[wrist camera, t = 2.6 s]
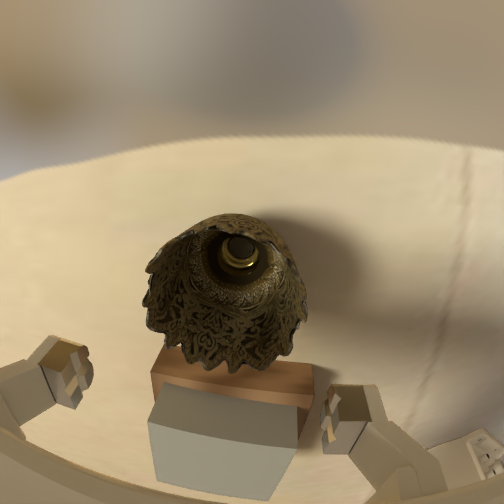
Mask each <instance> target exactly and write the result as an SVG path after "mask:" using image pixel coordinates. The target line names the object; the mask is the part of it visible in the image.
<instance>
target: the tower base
mask: <svg viewBox="0 0 504 504" xmlns="http://www.w3.org/2000/svg"><path fill="white" fill-rule="evenodd" d="M175 347H176V348H172V349H168V350H167V349H165V344H164V345H163V347H162V349H161V351H160V353H159V355H158V357H157V359H156V361H155V363H154V365H153V367H152V369H151V371H150V373H151V380H152V387H153V393H154V399H155V402H156V399H157V397H158V395H159V392H160V390H161V388H162V385H163V383H164V382H165V383H169V384H173V385H177V386H181V387H186V388H190V389H195V390H199V391H204V392H209V393H214V394H219V395H224V396H230V397H235V398H241V399H247V400H253V401H260V402H267V403H274V404H282V405H290V406H297V433H298V440H299V437H300V434H301V432H302V429H303V426H304V424H305V421H306V418H307V415H308V412H309V410H310V407H311V404H312V401H313V398H314V383H313V372H312V364H309V363H297V362H287V361H277V360H275V361H274V362H273V363H272V364H271V365H270V366H269V367H268V368H267V369H265V370H264V371H257V370H254V369H252V368H251V367H250V366H249V365H242V366H241V368H239V370H238V371H237V372H236V373H234V374H229V373H228V372H227V370H228V367H227V363H226V361H223V362H222V363H221V364H220V365H219V366H218V367H216V368H215V369H213V370H211V371H206V370H204V368H203V367H202V365H201V364H200V362H195V363H194V364H188V363H187V361H186V359H185V356H184V353H182V351H181V347H179V346H175ZM199 361H200V360H199ZM224 363H225V364H224Z"/></svg>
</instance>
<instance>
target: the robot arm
mask: <svg viewBox="0 0 504 504" xmlns="http://www.w3.org/2000/svg"><path fill="white" fill-rule="evenodd" d="M88 356H89V351H88V348H87V347H86V346H85V345H82V344H79V343H76V342H72V341H69V340H66V339H63V338H60V337H57V336H54V335H50V336H48V337H47V338H46V339H45V340H44V341H43V343H42V344H41V345H40V346H39V347H38V348H37V349H36V350H35V351H34V352H33V354H32V355H31V356H30V357H29V358H28V359H27V360H24V359H23V360H20V361H18V362H15V363H12V364H10V365H7V366H5V367H2V368H0V504H226V503H219V502H212V501H206V500H200V499H195V498H189V497H184V496H180V495H175V494H170V493H166V492H162V491H158V490H154V489H150V488H146V487H143V486H139V485H136V484H132V483H129V482H126V481H122V480H119V479H116V478H113V477H110V476H107V475H104V474H102V473H99V472H96V471H93V470H91V469H88V468H86V467H83V466H80V465H78V464H76V463H73V462H71V461H68V460H66V459H64V458H62V457H59V456H57V455H55V454H53V453H51V452H48V451H46V450H44V449H42V448H40V447H38V446H36V445H34V444H32V443H30V442H28V441H26V436H25V434H24V433H23V431H22V430H21V428H20V426H21V425H23V424H24V423H26V422H27V421H29V420H31V419H32V418H34V417H36V416H37V415H39V414H41V413H42V412H44V411H46V410H47V409H49V408H50V407H52V406H54V405H55V404H56V403H58V404H60V405H63V406H66V407H69V408H72V409H76V407H77V406H78V404H79V403H80V401H81V399H82V398H83V394H82V391H84V390H86V389H88V388H89V386H90V385H91V383H92V379H93V375H94V374H93V366H92V363H91V362H90V361H89V360H88V359H87V357H88ZM327 393H328V399H327V400H325V401H324V403H323V406H322V409H321V415H320V423H321V428H322V429H323V430H324V431H325V432H324V435H323V437H322V445H323V454H344V455H346V454H349V455H348V456H349V457H350V459H351V460H352V461H353V462H354V464H355V465H356V466H357V467H358V469H359V470H360V471H361V472H362V474H363V475H364V476H365V477H366V479H367V480H368V481H369V482H370V483H371V485H372V486H373V487H374V488H375V490H376V492H375V493H374V494H373V496H372V497H371V498H370V499H369V500H368V501H367V502H366V503H365V504H504V473H502V472H504V465H503V463H502V461H501V460H500V458H501V456H502V455H503V454H504V446H503V445H502V444H501V443H499V442H498V441H497V440H496V439H495V438H494V437H493V436H491V435H490V434H489V433H488V432H487V431H486V430H485V429H483V428H480V429H477V430H475V431H473V432H471V433H469V434H467V435H466V436H464V437H462V438H459V439H456V440H453V441H449V442H446V443H443V444H440V445H438V446H435V447H433V448H431V449H428V450H426V449H424V448H423V447H422V446H421V445H420V444H419V443H417V442H416V441H415V440H414V439H413V438H411V437H410V436H409V435H408V434H407V433H406V432H404V431H403V430H402V429H401V428H400V427H398V426H397V425H396V424H395V423H394V422H393V421H388V419H387V416H386V413H385V409H384V406H383V403H382V400H381V397H380V393H379V390H378V387H377V386H376V385H344V384H331V386H330V387H329V389H328V392H327ZM501 473H502V474H501Z"/></svg>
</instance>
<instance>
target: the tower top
mask: <svg viewBox="0 0 504 504" xmlns="http://www.w3.org/2000/svg"><path fill="white" fill-rule="evenodd" d="M147 423H148V430H149V437H150V444H151V450H152V456H153V462H154V468H155V473H156V479H157V481H159V482H163V483H167V484H171V485H175V486H179V487H183V488H187V489H192V490H197V491H201V492H206V493H212V494H217V495H223V496H229V497H236V498H243V499H251V500H261V501H269V499H270V498H271V496H272V494H273V492H274V491H275V489H276V487H277V486H278V484H279V482H280V480H281V479H282V477H283V475H284V473H285V472H286V470H287V468H288V466H289V464H290V463H291V461H292V459H293V457H294V455H295V453H296V451H297V449H298V433H297V406H290V405H282V404H274V403H267V402H260V401H253V400H247V399H241V398H235V397H230V396H224V395H219V394H214V393H209V392H204V391H199V390H195V389H190V388H186V387H181V386H177V385H173V384H169V383H165V382H164V383H163V385H162V388H161V390H160V392H159V395H158V397H157V399H156V402H155V404H154V407H153V409H152V411H151V414H150V416H149V419H148V421H147Z"/></svg>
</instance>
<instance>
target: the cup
mask: <svg viewBox="0 0 504 504" xmlns="http://www.w3.org/2000/svg"><path fill="white" fill-rule="evenodd" d="M233 237H243V238H246V239H248V240H249V241H251V242H252V243H253V247H254V249H253V252H252V254H251V255H250V256H249V257H247V258H245V259H239V258H236V257H234V256H233V255H232V254H231V253H230V251H229V247H228V246H229V242H230V240H231V239H232V238H233ZM145 272H147V273H148V274H151V275H150V278H149V280H148V284H149V289H148V291H147V293H146V295H145V297H144V299H143V301H142V306H143V307H147V308H148V311H147V318H146V326H147V327H148V328H149V329H150V330H151V331H154V332H158V333H164V334H165V340H164V342H165V349H167V350H168V349H172V348H176V347H175V346H177V345H178V344H180V343H181V344H182V345H181V351H182V353H184V356H185V359H186V361H187V363H188V364H194V363H195V362H200V364H201V365H202V367H203V368H204V370H206V371H211V370H213V369H215V368H216V367H218V366H219V365H220V364H221V363H222V362H223V361H226V363H227V367H228V370H227V372H228V373H229V374H234V373H236V372H237V371H238V370H239V368H241V366H242V365H249V366H250V367H251V368H252V369H254V370H257V371H264V370H265V369H267V368H268V367H269V366H270V365H271V364H272V363H273V362H274V361H275V359H276V358H277V356H278V355H279V354H280V355H282V356H288V355H289V354H290V353H291V351H292V349H293V342H292V339H293V334H294V332H295V330H297V329H299V324H300V321H302V323H305V322H306V321H307V316H308V313H307V305H306V299H307V295H306V289H305V286H304V284H303V282H302V280H301V278H300V276H299V273H298V270H297V268H296V265H295V263H294V260H293V258H292V255H291V253H290V251H289V249H288V247H287V246H286V244H285V243H284V241H283V240H282V238H281V237H280V236H279V235H278V233H277V232H276V231H275V230H273V229H272V228H271V227H270V226H268V225H267V224H266V223H264V222H262V221H260V220H259V219H256V218H254V217H251V216H248V215H243V214H222V215H217V216H213V217H210V218H208V219H205V220H203V221H201V222H199V223H197V224H196V225H194V226H192V227H191V228H189V229H188V230H186V231H185V232H183V233H182V234H180V235H179V236H177V237H175V238H174V239H172V240H170V241H169V242H167V243H166V244H165V245H164V246H163V247H162V248H161V249H160V250H159V251H158V252H157V253H156V255H155V257H154V258H153V259H152V260H151V261H150V262H149V263H148V265H147V267H146V269H145ZM199 360H200V361H199ZM224 364H225V363H224Z"/></svg>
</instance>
